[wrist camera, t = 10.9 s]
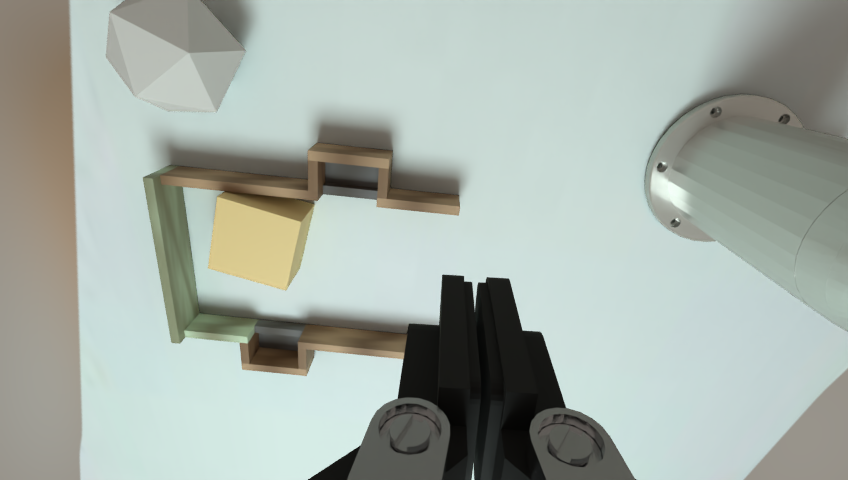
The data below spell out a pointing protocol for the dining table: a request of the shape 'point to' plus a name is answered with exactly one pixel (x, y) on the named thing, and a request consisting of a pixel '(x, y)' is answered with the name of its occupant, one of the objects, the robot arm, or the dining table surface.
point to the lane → (327, 174)
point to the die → (173, 53)
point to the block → (259, 237)
